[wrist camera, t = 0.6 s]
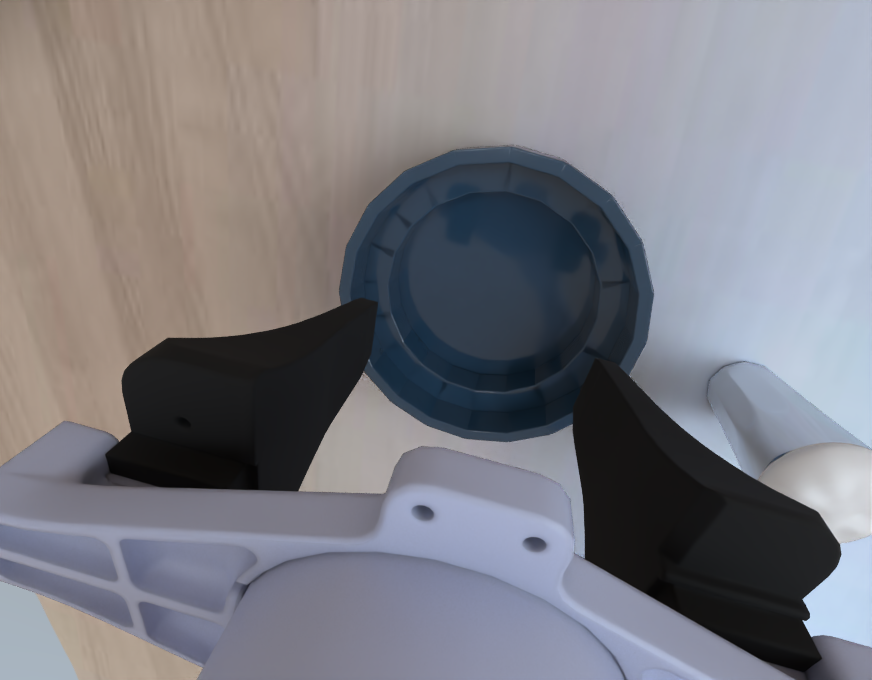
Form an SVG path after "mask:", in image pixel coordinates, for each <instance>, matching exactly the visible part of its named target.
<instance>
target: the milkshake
mask: <svg viewBox="0 0 872 680" xmlns="http://www.w3.org/2000/svg"><path fill="white" fill-rule="evenodd" d="M707 399H708V401H709V403H710V405H711V407H712V409H713V411H714V413H715V415H716V417H717V419H718V421H719V423H720V425H721V428H722V430H723V432H724V434H725V436H726V438H727V440H728V442H729V444H730V446H731V448H732V450H733V452H734V454H735V456H736V459H737V461H738V463H739V465H740V468H741V470H742V471H743V472H744V473H746V474H748V475H749V476H751V477H753V478H754V479H756V480H758V481H760V482H761V483H763V484H765V485H767V486H768V487H770V488H772V489H774V490H776V491H778V492H780V493H782V494H784V495H786V496H788V497H790V498H792V499H794V500H796V501H798V502H800V503H802V504H804V505H806V506H808V507H810V508H812V509H814V510H816V511H817V512H819V514H820V515H821V517H822V518H823V520H824V521H825V523H826V524H827V526H828V527H829V529H830V530H831V532H832V533H833V535H834V536H835V538H836V539H837V541H838V542H839V544H841V543H847V542H852V541H856V540H859V539H862V538H865V537H868V536H870V535H872V449H871V448H870V447H869V446H867V445H866V444H865V443H863V442H862V441H861V440H859V439H858V438H857V437H855V436H854V435H852V434H851V433H850V432H848V431H847V430H846V429H844V428H843V427H842V426H840V425H839V424H838V423H836V422H835V421H834V420H832V419H831V418H830V417H828V416H827V415H826V414H824V413H823V412H822V411H821V410H819V409H818V408H817V407H816V406H814V405H813V404H812V403H811V402H809V401H808V400H807V399H806V398H804V397H803V396H802V395H801V394H799V393H798V392H797V391H796V390H794V389H793V388H792V387H791V386H789V385H788V384H787V383H786V382H784V381H783V380H782V379H780V378H779V377H778V376H777V375H775V374H774V373H773V372H772V371H770V370H769V369H768V368H766V367H765V366H761V365H757V364H753V363H749V362H745V361H744V362H740V363H736V364H732V365H728V366H724V367H722V368H721V369H720V370H719V371H718V372H717V373H716V374H715V375H714V376H713V377H712V378H711V379H710V380H709V384H708V391H707Z"/></svg>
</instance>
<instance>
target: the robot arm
mask: <svg viewBox="0 0 872 680" xmlns="http://www.w3.org/2000/svg"><path fill="white" fill-rule="evenodd" d="M377 308H378V302H376V301H372V300H368V299H364V298H358V299H355V300H353V301H350V302H348V303H346V304H344V305H342V306H339V307H337V308H335V309H332V310H330V311H328V312H325V313H323V314H321V315H318V316H315V317H313V318H310V319H307V320H304V321H302V322H299V323H296V324H292V325H289V326H285V327H281V328H277V329H273V330H269V331H263V332H257V333H251V334H245V335H238V336H228V337H214V338H167V339H165V340H164V341H162V342H161V343H159V344H158V345H156V346H155V347H154V348H152V349H151V350H149V351H148V352H146V353H145V354H143V355H142V356H141V357H139V358H138V359H136V360H135V361H133V362H132V363H131V364H130V365H129V366H128V367H127V368H126V369H125V371H124V374H123V377H122V392H123V397H124V401H125V406H126V410H127V414H128V419H129V423H130V427H131V432H130V433H129V434H128V435H127V436H126V437H125V438H123V439H122V440H121V441H120V442H119V441H118V439H117V438H115V437H114V436H113V435H112V434H110V433H108V432H106V431H102V430H98V429H95V428H91V427H88V426H84V425H81V424H77V423H74V422H70V421H63V422H62V423H61V424H59V425H58V426H56V427H55V428H54V429H52V430H51V431H49V432H48V433H47V434H45V435H44V436H42V437H41V438H40V439H38V440H37V441H35V442H34V443H33V444H31V445H30V446H29V447H27V448H26V449H24V450H23V451H22V452H20V453H19V454H17V455H16V456H15V457H13V458H12V459H10V460H9V461H8V462H6V463H5V464H3V465H2V466H1V467H0V581H2V582H5V583H8V584H11V585H14V586H17V587H20V588H23V589H26V590H29V591H32V592H35V593H37V594H40V595H43V596H45V597H48V598H50V599H53V600H55V601H58V602H61V603H63V604H66V605H68V606H71V607H73V608H75V609H77V610H80V611H82V612H84V613H86V614H89V615H91V616H93V617H95V618H98V619H100V620H102V621H104V622H107V623H109V624H111V625H113V626H115V627H117V628H119V629H121V630H124V631H126V632H128V633H130V634H132V635H134V636H136V637H138V638H141V639H143V640H145V641H147V642H149V643H151V644H153V645H155V646H158V647H160V648H162V649H164V650H166V651H168V652H170V653H172V654H175V655H177V656H179V657H181V658H183V659H185V660H187V661H189V662H192V663H194V664H196V665H198V666H200V667H202V668H203V669H202V671H201V673H200V674H199V676H198V678H197V680H872V648H871V647H868V646H864V645H860V644H857V643H853V642H850V641H846V640H843V639H839V638H836V637H832V636H825V635H820V636H813V637H811V636H810V634H809V632H808V630H807V628H806V627H805V625H804V623H803V621H802V620H804V621H807V620H808V619H809V618H810V613H809V611H808V609H807V607H806V605H805V603H804V602H803V600H802V599H803V598H804V597H805V596H806V595H808V594H809V593H810V592H811V591H812V590H813V589H815V588H816V587H817V586H818V585H819V584H820V583H822V582H823V581H824V580H825V579H826V578H827V577H828V576H829V575H830V574H831V573H832V572H833V571H834V569H835V568H836V567H837V565H838V563H839V560H840V557H841V549H840V544H839V542H838V541H837V539H836V538H835V536H834V535H833V533H832V532H831V530H830V529H829V527H828V526H827V524H826V523H825V521H824V520H823V518H822V517H821V515H820V514H819V512H817V511H816V510H814V509H812V508H810V507H808V506H806V505H804V504H802V503H800V502H798V501H796V500H794V499H792V498H790V497H788V496H786V495H784V494H782V493H780V492H778V491H776V490H774V489H772V488H770V487H768V486H767V485H765V484H763V483H761V482H760V481H758V480H756V479H754V478H753V477H751V476H749V475H748V474H746V473H744V472H743V471H741V470H739V469H738V468H736V467H735V466H733V465H731V464H730V463H729V462H727V461H726V460H724V459H723V458H721V457H720V456H718V455H717V454H715V453H714V452H712V451H711V450H709V449H708V448H707V447H705V446H704V445H703V444H701V443H700V442H699V441H697V440H696V439H695V438H694V437H692V436H691V435H690V434H689V433H687V432H686V431H685V430H684V429H682V428H681V427H680V426H679V425H678V424H677V423H675V422H674V421H673V420H672V419H671V418H670V417H669V416H668V415H667V414H666V413H665V412H664V411H662V410H661V409H660V408H659V407H658V406H657V405H656V404H655V403H654V402H653V401H652V400H651V399H650V398H649V397H648V396H647V395H646V394H645V393H644V391H643V390H642V389H641V388H640V387H639V386H638V385H637V384H636V383H635V382H634V381H633V380H632V379H631V378H630V377H629V376H628V375H627V374H626V373H625V372H624V371H623V370H622V369H621V368H620V367H619V366H618V365H617V364H616V363H615V362H611V361H607V360H603V359H599V358H595V360H594V362H593V364H592V366H591V369H590V371H589V373H588V375H587V377H586V380H585V382H584V384H583V386H582V388H581V390H580V393H579V395H578V397H577V399H576V401H575V403H574V406H573V437H574V443H575V450H576V456H577V462H578V469H579V475H580V481H581V487H582V494H583V503H584V526H585V559H584V558H582V557H580V556H578V555H577V554H575V553H574V546H575V537H574V528H573V519H572V510H571V501H570V498H569V496H568V495H567V494H566V492H565V491H564V489H563V488H562V486H561V485H560V484H559V483H557V482H555V481H553V480H551V479H549V478H547V477H545V476H543V475H541V474H538V473H535V472H531V471H527V470H524V469H520V468H516V467H513V466H509V465H505V464H502V463H498V462H494V461H491V460H487V459H483V458H480V457H476V456H472V455H469V454H465V453H461V452H458V451H454V450H450V449H447V448H439V447H426V446H421V447H418V448H416V449H413V450H411V451H408V452H406V453H403V455H402V456H401V458H400V460H399V461H398V463H397V464H396V466H395V468H394V471H393V474H392V477H391V479H390V482H389V485H388V488H387V491H386V493H384V494H370V493H335V492H301V491H298V490H299V488H300V486H301V484H302V481H303V479H304V477H305V475H306V473H307V471H308V469H309V466H310V464H311V462H312V460H313V458H314V456H315V454H316V452H317V450H318V447H319V445H320V443H321V441H322V439H323V437H324V435H325V433H326V431H327V430H328V428H329V426H330V424H331V423H332V421H333V420H334V418H335V416H336V415H337V413H338V412H339V410H340V409H341V407H342V406H343V404H344V403H345V401H346V399H347V398H348V396H349V395H350V393H351V392H352V390H353V389H354V387H355V385H356V384H357V382H358V381H359V379H360V377H361V375H362V373H363V371H364V369H365V367H366V365H367V362H368V360H369V358H370V355H371V352H372V345H373V337H374V330H375V322H376V315H377Z"/></svg>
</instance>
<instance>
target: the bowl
mask: <svg viewBox="0 0 872 680" xmlns="http://www.w3.org/2000/svg"><path fill="white" fill-rule="evenodd" d="M653 292H654V290H653V285H652V281H651V276H650V272H649V267H648V262H647V258H646V253H645V249H644V244H643V242H642V239H641V238H640V236H639V235H638V233H637V232H636V230H635V229H634V227H633V226H632V224H631V223H630V221H629V220H628V218H627V217H626V215H625V214H624V212H623V211H622V209H621V208H620V206H619V204H618V203H617V201H616V200H615V198H614V197H613V196H612V195H611V194H610V193H608V192H607V191H606V190H605V189H603V188H602V187H601V186H599V185H598V184H597V183H595V182H594V181H592V180H591V179H590V178H588V177H587V176H586V175H584V174H583V173H582V172H580V171H579V170H577V169H576V168H575V167H573V166H572V165H571V164H569V163H568V162H566V161H565V160H564V159H561V158H560V157H556V156H553V155H549V154H546V153H542V152H539V151H535V150H532V149H528V148H525V147H521V146H518V145H516V146H515V145H503V146H487V147H472V148H463V149H456V150H452V151H450V152H448V153H445V154H443V155H441V156H438V157H436V158H434V159H431V160H429V161H427V162H424V163H422V164H420V165H417V166H415V167H412V168H410V169H408V170H406V171H404V172H403V173H402V174H401V175H400V176H399V177H398V178H396V179H395V180H394V181H393V182H392V183H391V184H390V185H389V186H388V187H387V188H386V189H385V190H383V191H382V192H381V193H380V194H379V195H378V196H377V197H376V198H375V199H374V200H373V201H372V202H370V203H369V204H368V206H367V208H366V209H365V211H364V213H363V215H362V217H361V219H360V221H359V223H358V225H357V226H356V228H355V230H354V232H353V234H352V236H351V238H350V240H349V242H348V243H347V245H346V249H345V256H344V262H343V268H342V274H341V281H340V287H339V295H340V301H341V306H342V305H344V304H346V303H348V302H350V301H353V300H355V299H358V298H364V299H368V300H372V301H376V302H378V308H377V315H376V322H375V330H374V337H373V345H372V352H371V355H370V358H369V360H368V362H367V365H366V367H365V369H364V372H365V373H366V374H367V375H368V377H369V378H370V379H371V380H372V381H373V382H374V383H375V384H376V386H377V387H378V388H379V389H380V390H381V391H382V392H383V393H384V395H385V396H386V397H387V398H388V399H389V400H390V401H391V402H392V403H393V404H395V405H396V406H398V407H399V408H401V409H402V410H404V411H405V412H407V413H408V414H410V415H411V416H413V417H414V418H416V419H417V420H419V421H420V422H422V423H423V424H425V425H427V426H429V427H432V428H435V429H438V430H441V431H444V432H447V433H450V434H453V435H456V436H458V437H461V438H464V439H474V440H486V441H499V442H512V441H518V440H523V439H529V438H534V437H539V436H545V435H550V434H553V433H555V432H557V431H559V430H561V429H563V428H565V427H567V426H569V425H571V424H573V406H574V403H575V401H576V399H577V397H578V395H579V393H580V390H581V388H582V386H583V384H584V382H585V380H586V377H587V375H588V373H589V371H590V369H591V366H592V364H593V362H594V360H595V358H599V359H603V360H607V361H611V362H615V363H616V364H617V365H618V366H619V367H620V368H621V369H622V370H623V371H624V372H625V373H626V374H627V375H628V376H629V374H630V372H631V370H632V369H633V367H634V365H635V363H636V361H637V359H638V357H639V356H640V354H641V352H642V350H643V348H644V346H645V344H646V342H647V338H648V331H649V325H650V318H651V311H652V304H653V298H654V293H653Z"/></svg>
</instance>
